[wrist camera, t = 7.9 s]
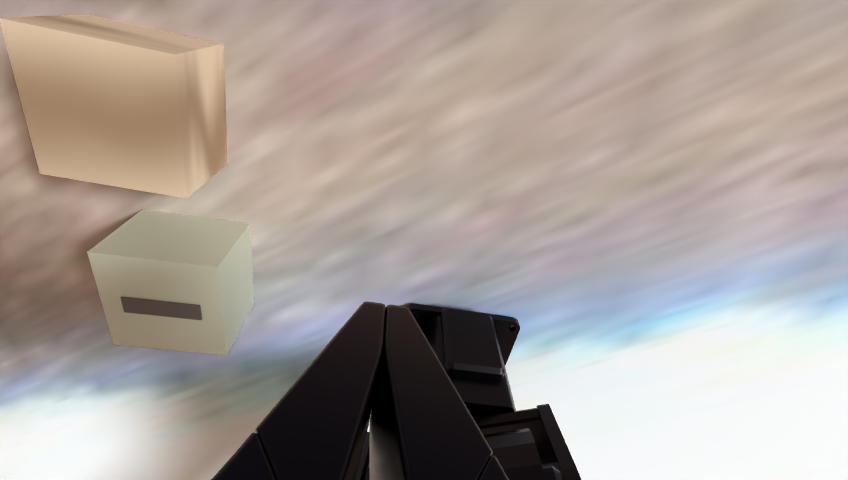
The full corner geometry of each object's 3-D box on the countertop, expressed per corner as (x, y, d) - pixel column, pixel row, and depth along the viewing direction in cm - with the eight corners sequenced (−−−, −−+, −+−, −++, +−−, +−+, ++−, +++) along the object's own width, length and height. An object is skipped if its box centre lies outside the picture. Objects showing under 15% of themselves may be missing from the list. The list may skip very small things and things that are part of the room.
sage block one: (255, 301, 23) (226, 356, 19) (159, 291, 22) (112, 345, 19) (251, 221, 20) (217, 268, 17) (143, 208, 20) (85, 253, 16)
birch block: (228, 162, 19) (186, 198, 15) (110, 140, 18) (39, 173, 15) (225, 43, 16) (174, 54, 13) (89, 14, 16) (-2, 17, 12)
